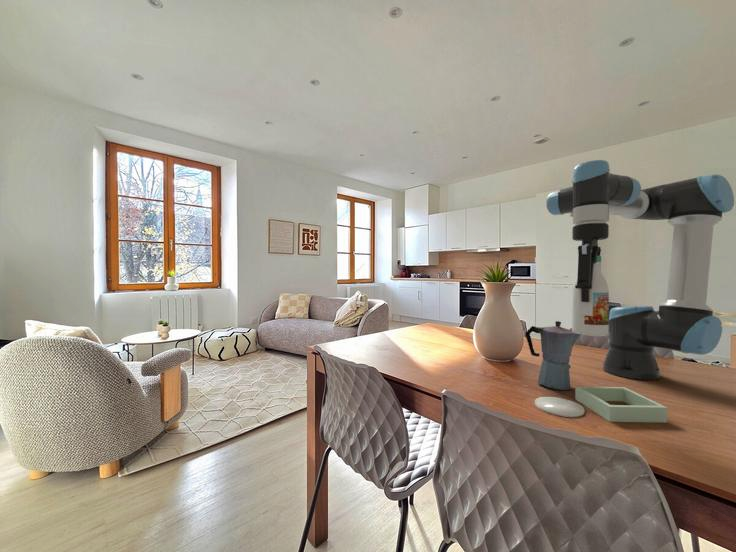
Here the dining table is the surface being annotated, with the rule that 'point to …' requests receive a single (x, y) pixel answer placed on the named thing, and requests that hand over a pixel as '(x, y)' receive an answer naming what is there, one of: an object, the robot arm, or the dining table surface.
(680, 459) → the dining table surface
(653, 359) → the robot arm
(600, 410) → the green square tray
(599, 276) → the milk bottle
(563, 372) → the moka pot
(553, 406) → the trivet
